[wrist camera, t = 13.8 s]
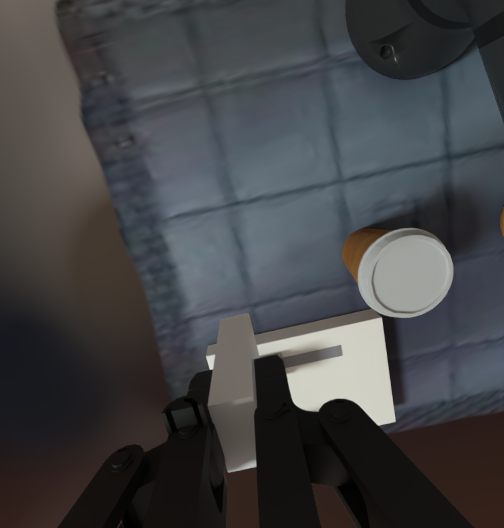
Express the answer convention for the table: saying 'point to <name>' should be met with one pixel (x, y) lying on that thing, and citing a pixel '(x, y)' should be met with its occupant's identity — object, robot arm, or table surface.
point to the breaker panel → (333, 362)
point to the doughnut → (502, 221)
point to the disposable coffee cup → (399, 269)
